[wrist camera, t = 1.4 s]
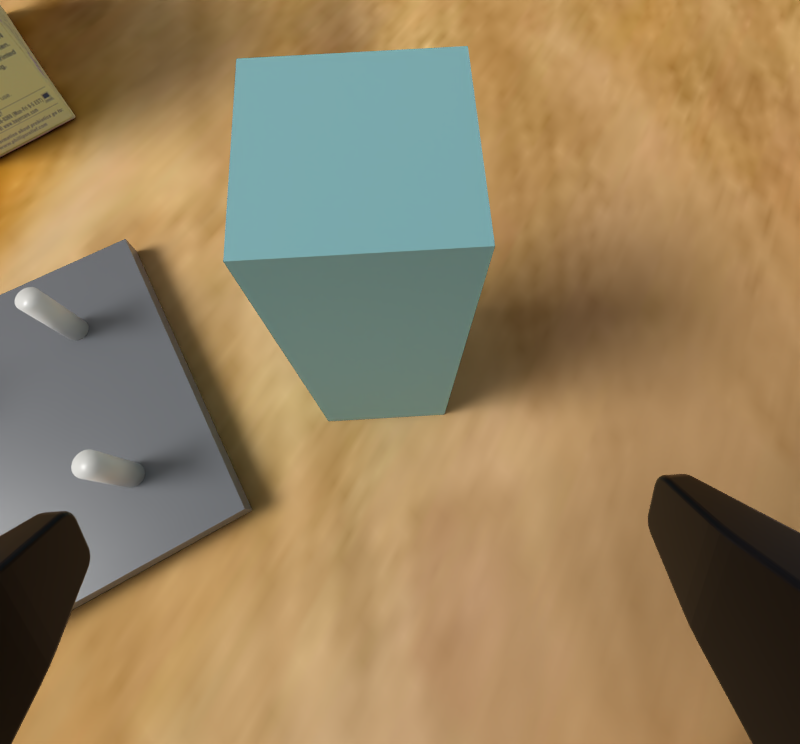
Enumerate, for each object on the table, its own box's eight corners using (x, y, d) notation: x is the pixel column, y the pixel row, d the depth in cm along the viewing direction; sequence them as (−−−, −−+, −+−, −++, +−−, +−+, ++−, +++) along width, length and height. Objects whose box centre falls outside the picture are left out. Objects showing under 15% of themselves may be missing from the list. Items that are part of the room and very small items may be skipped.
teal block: (444, 414, 21) (494, 246, 9) (328, 421, 21) (223, 261, 9) (435, 309, 23) (467, 46, 11) (327, 315, 23) (236, 58, 11)
